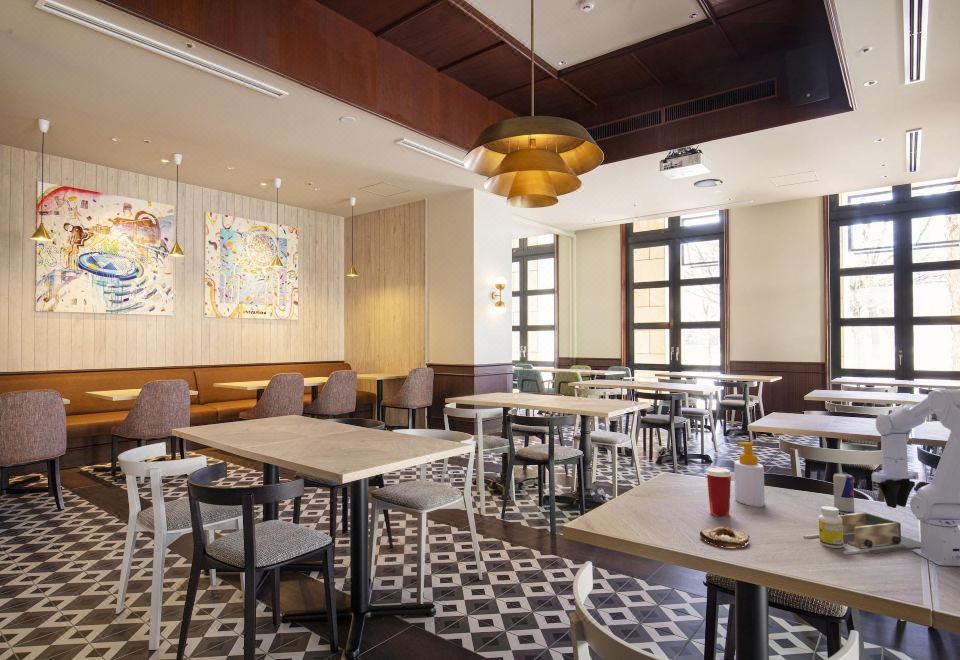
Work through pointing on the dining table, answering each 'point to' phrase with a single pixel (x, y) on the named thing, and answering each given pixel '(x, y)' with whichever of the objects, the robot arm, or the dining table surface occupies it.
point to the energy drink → (844, 493)
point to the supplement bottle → (830, 527)
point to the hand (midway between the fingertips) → (896, 506)
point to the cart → (871, 529)
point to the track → (875, 549)
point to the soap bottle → (749, 478)
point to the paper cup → (719, 490)
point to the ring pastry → (724, 536)
